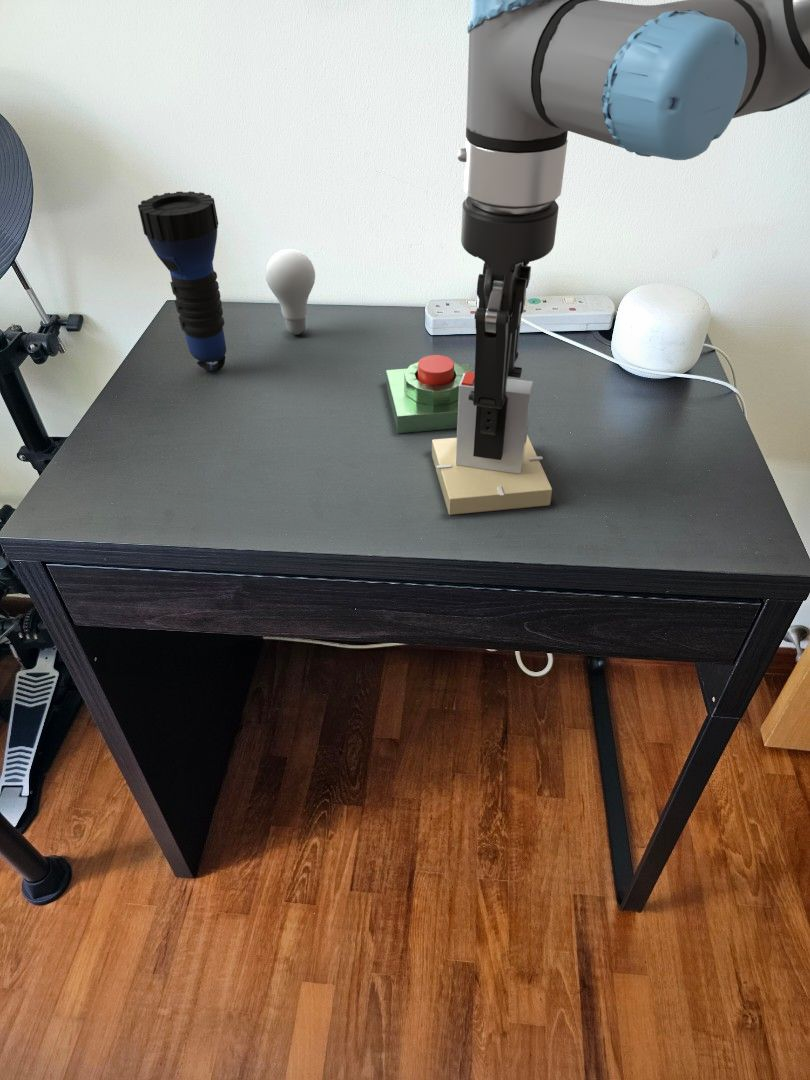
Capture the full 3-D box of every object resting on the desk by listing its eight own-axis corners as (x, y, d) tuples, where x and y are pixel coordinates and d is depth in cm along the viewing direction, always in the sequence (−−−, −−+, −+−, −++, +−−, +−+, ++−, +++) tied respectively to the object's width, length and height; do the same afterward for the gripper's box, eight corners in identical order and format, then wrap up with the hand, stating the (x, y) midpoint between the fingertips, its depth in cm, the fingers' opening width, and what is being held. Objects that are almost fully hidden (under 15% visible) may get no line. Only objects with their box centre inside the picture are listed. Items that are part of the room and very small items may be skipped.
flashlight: (177, 357, 99) (140, 191, 86) (241, 352, 100) (214, 187, 87) (174, 390, 93) (134, 217, 80) (242, 384, 94) (213, 212, 81)
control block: (487, 426, 87) (489, 394, 84) (397, 433, 86) (397, 401, 83) (469, 379, 94) (470, 349, 92) (386, 386, 93) (385, 356, 91)
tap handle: (524, 460, 79) (533, 378, 73) (520, 474, 77) (530, 392, 71) (460, 451, 80) (464, 370, 74) (455, 465, 78) (459, 383, 72)
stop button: (456, 385, 87) (457, 371, 85) (420, 388, 86) (420, 374, 85) (450, 367, 90) (450, 353, 88) (415, 370, 89) (415, 356, 88)
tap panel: (554, 507, 76) (557, 489, 75) (445, 517, 75) (446, 500, 74) (526, 444, 84) (528, 427, 83) (427, 453, 83) (428, 436, 82)
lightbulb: (266, 342, 102) (255, 258, 95) (282, 321, 106) (272, 239, 99) (311, 347, 101) (304, 262, 94) (325, 325, 105) (319, 243, 98)
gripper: (481, 164, 68) (468, 400, 84) (442, 229, 57) (435, 488, 72) (569, 171, 66) (539, 410, 82) (546, 238, 55) (517, 501, 71)
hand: (490, 446), depth 77 cm, fingers closed on tap handle, 2 cm apart
